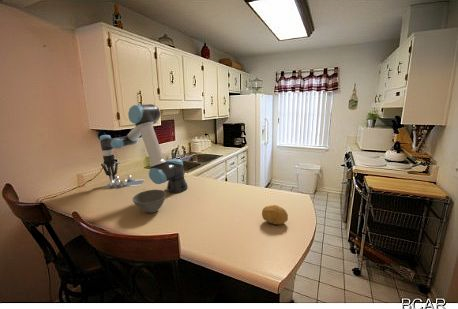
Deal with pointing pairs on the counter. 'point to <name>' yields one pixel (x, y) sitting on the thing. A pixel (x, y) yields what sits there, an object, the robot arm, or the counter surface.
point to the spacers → (119, 181)
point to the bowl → (149, 200)
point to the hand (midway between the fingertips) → (113, 183)
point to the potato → (274, 214)
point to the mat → (129, 183)
